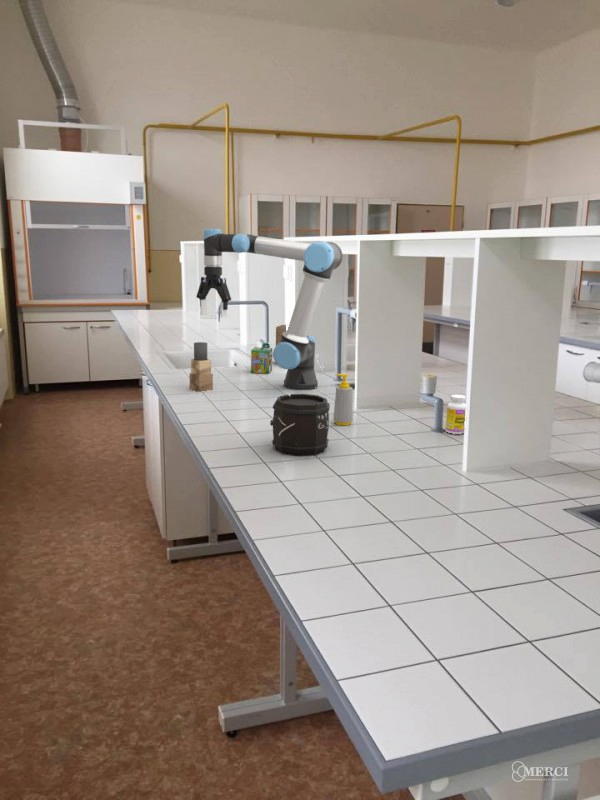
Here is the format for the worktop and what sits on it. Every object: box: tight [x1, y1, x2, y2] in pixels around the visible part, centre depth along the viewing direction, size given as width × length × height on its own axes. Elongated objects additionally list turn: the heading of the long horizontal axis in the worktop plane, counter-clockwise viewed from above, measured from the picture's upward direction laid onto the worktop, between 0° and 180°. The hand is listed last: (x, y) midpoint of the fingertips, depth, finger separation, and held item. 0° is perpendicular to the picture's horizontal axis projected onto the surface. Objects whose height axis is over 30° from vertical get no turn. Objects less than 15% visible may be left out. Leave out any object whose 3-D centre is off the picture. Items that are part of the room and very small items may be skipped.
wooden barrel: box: [269, 393, 331, 457], centre depth 208 cm, size 18×18×16 cm
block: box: [274, 324, 287, 364], centre depth 353 cm, size 10×10×20 cm
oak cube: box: [190, 358, 212, 375], centre depth 287 cm, size 6×6×6 cm
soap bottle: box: [333, 373, 354, 426], centre depth 238 cm, size 7×7×18 cm
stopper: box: [193, 341, 208, 361], centre depth 285 cm, size 6×6×7 cm
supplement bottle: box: [445, 394, 467, 435], centre depth 231 cm, size 7×7×13 cm
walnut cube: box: [188, 372, 214, 393], centre depth 288 cm, size 7×7×7 cm
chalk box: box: [250, 341, 273, 375], centre depth 329 cm, size 9×9×15 cm
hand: (213, 316), depth 293 cm, fingers open, 13 cm apart
